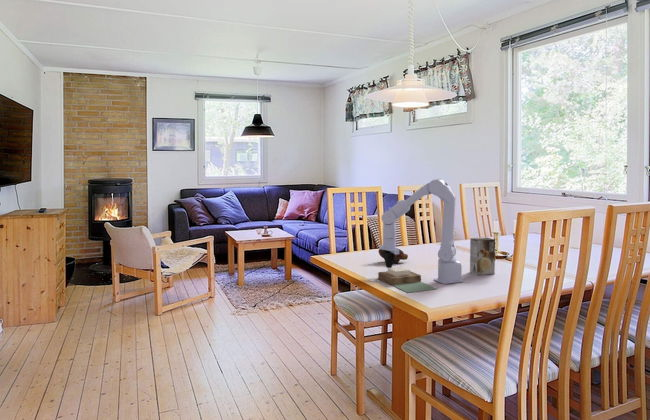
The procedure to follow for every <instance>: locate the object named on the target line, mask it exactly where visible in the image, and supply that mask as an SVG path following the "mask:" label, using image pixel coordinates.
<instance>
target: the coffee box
mask: <svg viewBox="0 0 650 420" xmlns="http://www.w3.org/2000/svg"><path fill="white" fill-rule="evenodd" d="M469 240H470V242H469V243H470V245H469V246H470V247H469V248H470V249H469V250H470V251H469V253H470V255H469V258H470V259H469V272H470V273H471V274H473V275H475V276H486V275H495V270H496V269H495V265H496V264H495V262H496V261H495V259H496V256H495V255H496V254H495V253H496V239H494V238H489V237H475V238H473V237H472V238H470V239H469Z"/></svg>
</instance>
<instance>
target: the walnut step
mask: <svg viewBox="0 0 650 420" xmlns="http://www.w3.org/2000/svg"><path fill="white" fill-rule="evenodd" d="M377 275H378V277H377V279H378V280H380V281H381V282H383V283H386V284H388V285H390V286H392V285H395V284H404V283H413V282H422V275H421V274H418V273H416V272H413V271H411V270H410V275H402V276H394V275H392V274H390V273H388V270H387V271H379V272H378V273H377Z"/></svg>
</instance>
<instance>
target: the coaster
mask: <svg viewBox="0 0 650 420" xmlns="http://www.w3.org/2000/svg"><path fill="white" fill-rule="evenodd" d="M387 271H388V273H390V274H392V275H394V276H402V275H410V271H411V270H410V269H409V268H406V267H403V266H396V267H393V266H392V268H387Z"/></svg>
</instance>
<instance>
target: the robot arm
mask: <svg viewBox="0 0 650 420" xmlns="http://www.w3.org/2000/svg"><path fill="white" fill-rule="evenodd" d="M429 195H433V196H436V197H438V198H439V199H440V200H441V201H442V202H443V207H442V208H443V210H442V230H441V242H440V248H439V250H438V251H437V257H438V261H437V262H438V263H437V278H433V280H434V281H435V282H439V283H441V284H443V285H446V284H447V285H449V284H454V283H456V284H457V283H462V282H463V280H462V275H463V274H462V273H463V271H462V263H461V262H460V260H457V259H456V258H455V256H456V253H457V250H456V247H455V240H454V236H455V218H456V217H455V215H456V214H455V213H456V198H457V197H456V196H455V194H454V192H453V190H452V188H451V187H450V184H449V183H448V182H446V181H445V180H444V179H442V178H437V179H432V180H430V182H428V183H425V184H423V186H421V187H420V188H419V189H417V190H416V191H415V192H414V193H413V194H411V195H410V196H409V197H408V198H406V199H400V200H397V201H396V203H395V204H394V205H393V206H392V207H389V208H388V210H387V211H384V212H383V213H382V215H381V221H382V244H379V249H382V250H385V251H384V252H382V255H383V257H384V258H383V260H384V264H385V268H387V269H388V268H393V263H394V258H395V256H396V255H397V254H399V250H398V249H399V248H398V249H397V247H396V245H397V244H396V243H397V241H396V240H397V237H396V236H397V234H396V233H397V232H396V231H397V227H396V226H397V225H396V222H397V221H398V219H401V217H402V216H404V215H405V214H406V213H408V212H409V211H411V210H410V209H411V206H412V205H413V204H415V203H416V202H417V201H419V200H420V199H422V198H423V197H424V196H429Z"/></svg>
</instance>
